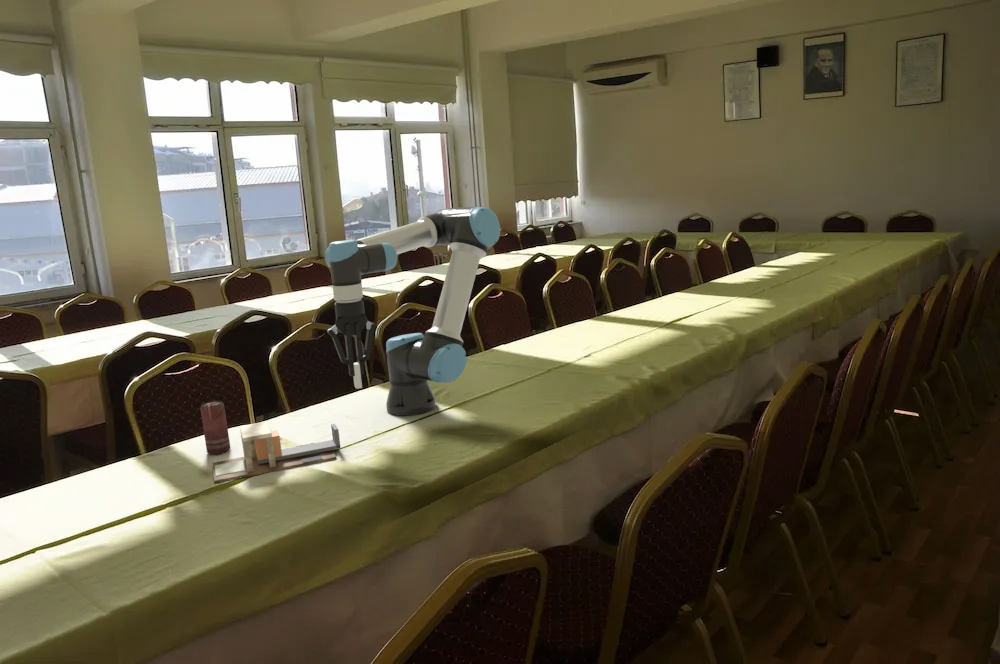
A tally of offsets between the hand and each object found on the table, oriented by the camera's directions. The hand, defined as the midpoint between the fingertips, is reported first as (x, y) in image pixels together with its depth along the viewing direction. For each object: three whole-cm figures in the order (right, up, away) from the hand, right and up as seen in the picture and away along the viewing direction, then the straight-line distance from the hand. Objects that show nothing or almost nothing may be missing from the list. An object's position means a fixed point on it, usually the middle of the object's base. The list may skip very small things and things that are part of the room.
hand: (358, 387), depth 209 cm
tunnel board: (-21, -19, -5) cm, 29 cm away
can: (-39, -18, +6) cm, 44 cm away
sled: (-15, -17, -3) cm, 23 cm away
